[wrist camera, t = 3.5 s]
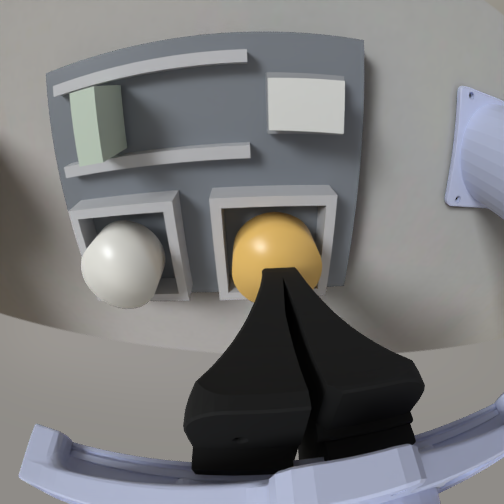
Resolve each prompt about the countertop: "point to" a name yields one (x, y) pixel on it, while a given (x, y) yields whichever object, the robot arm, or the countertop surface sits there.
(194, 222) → the switch panel
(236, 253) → the amber button
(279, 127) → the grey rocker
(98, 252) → the white button
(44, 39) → the countertop surface
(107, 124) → the sage paddle
